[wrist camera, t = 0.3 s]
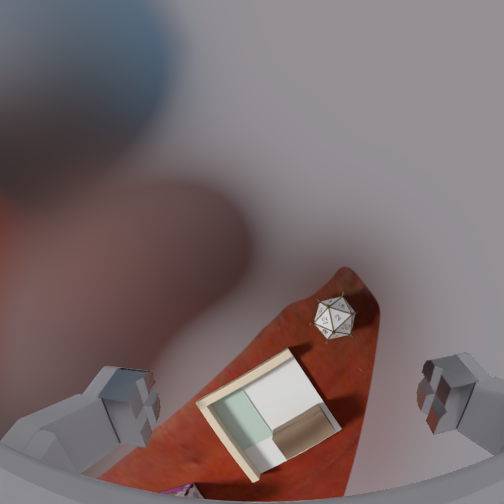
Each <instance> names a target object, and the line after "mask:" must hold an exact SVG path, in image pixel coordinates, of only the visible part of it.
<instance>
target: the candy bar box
mask: <svg viewBox="0 0 504 504" xmlns="http://www.w3.org/2000/svg"><path fill="white" fill-rule="evenodd" d="M159 493H161V494H167V495H174V496H181V497H189V498H198V499H204V497H203V496H202V494H201V493H200V492H199V490H198V489H197V487H196V486H195V484H194V483H190V484H187V485H184V486H181V487H177V488H174V489H170V490H167V491H163V492H159Z"/></svg>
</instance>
